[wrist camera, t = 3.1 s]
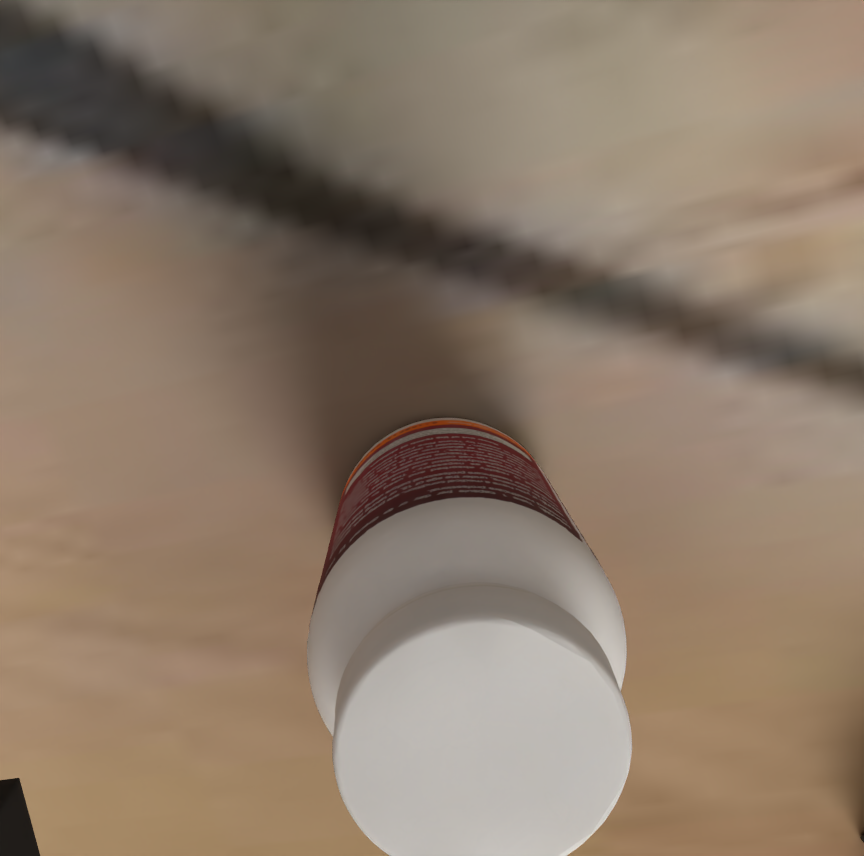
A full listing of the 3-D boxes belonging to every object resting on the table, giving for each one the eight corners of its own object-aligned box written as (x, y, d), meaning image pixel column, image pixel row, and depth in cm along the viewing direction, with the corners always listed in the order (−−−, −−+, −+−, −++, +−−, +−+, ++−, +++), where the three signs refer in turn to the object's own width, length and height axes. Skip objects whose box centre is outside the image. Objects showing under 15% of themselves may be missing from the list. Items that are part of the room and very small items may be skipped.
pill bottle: (294, 506, 23) (191, 736, 12) (459, 368, 22) (510, 478, 11) (433, 655, 24) (455, 988, 13) (594, 528, 23) (759, 771, 12)
